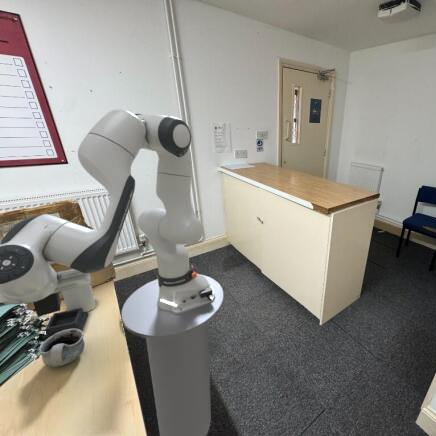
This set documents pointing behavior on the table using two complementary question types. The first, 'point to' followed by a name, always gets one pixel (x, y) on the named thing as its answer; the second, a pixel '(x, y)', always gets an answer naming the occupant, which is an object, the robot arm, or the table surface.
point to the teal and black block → (48, 305)
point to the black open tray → (66, 322)
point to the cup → (79, 298)
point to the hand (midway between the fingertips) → (45, 293)
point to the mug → (62, 347)
